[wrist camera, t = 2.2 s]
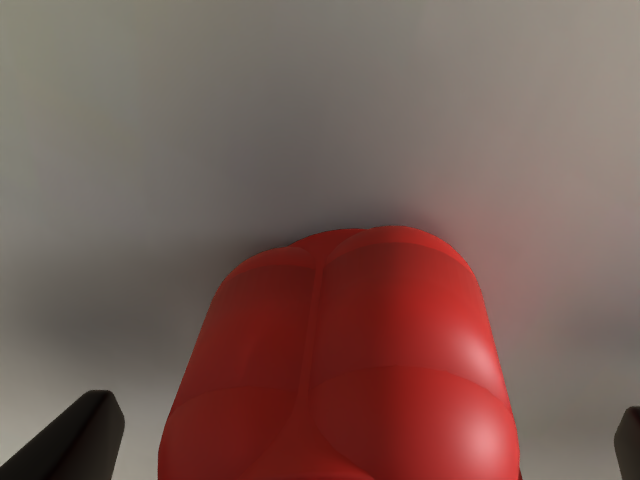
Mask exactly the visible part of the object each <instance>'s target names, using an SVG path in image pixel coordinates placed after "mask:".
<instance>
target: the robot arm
mask: <svg viewBox="0 0 640 480" xmlns="http://www.w3.org/2000/svg"><path fill="white" fill-rule="evenodd" d="M124 427H125V420H124V415H123V413H122V411H121V409H120V407H119V405H118V402H117V400H116V398H115V396H114V394H113V393H112V392H111V391H109V390H90V391H88V392H86V393H84V394H83V395H82V396H81V397H80V398H79V399H77V400H76V401H75V402H74V403H73V404H72V405H71V406H69V407H68V408H67V409H66V410H65V411H64V412H63V413H61V414H60V415H59V416H58V417H57V418H56V419H55V420H53V421H52V422H51V423H50V424H49V425H48V426H47V427H45V428H44V429H43V430H42V431H41V432H40V433H39V434H37V435H36V436H35V437H34V438H33V439H32V440H31V441H29V442H28V443H27V444H26V445H25V446H24V447H23V448H21V449H20V450H19V451H18V452H17V453H16V454H15V455H13V456H12V457H11V458H10V459H9V460H8V461H7V462H5V463H4V464H3V465H2V466H1V467H0V480H111V478H112V474H113V470H114V466H115V462H116V459H117V455H118V451H119V447H120V443H121V440H122V436H123V432H124ZM614 447H615V452H616V456H617V460H618V464H619V468H620V472H621V476H622V480H640V407H637V406H632V407H629V408H628V409H626V411H625V413H624V415H623V417H622V420H621V422H620V424H619V426H618V428H617V431H616V433H615V436H614Z"/></svg>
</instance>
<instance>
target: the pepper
mask: <svg viewBox="0 0 640 480" xmlns="http://www.w3.org/2000/svg"><path fill="white" fill-rule="evenodd" d="M519 458H520V450H519V443H518V436H517V429H516V425H515V421H514V417H513V413H512V409H511V405H510V402H509V398H508V394H507V390H506V386H505V382H504V378H503V374H502V370H501V366H500V363H499V359H498V355H497V351H496V347H495V343H494V339H493V335H492V331H491V327H490V324H489V320H488V316H487V312H486V308H485V304H484V300H483V296H482V293H481V289H480V287H479V285H478V282H477V280H476V277H475V275H474V273H473V272H472V270H471V269H470V267H469V266H468V264H467V262H466V261H465V260H464V259H463V258H462V257H461V256H460V254H459V253H457V252H456V251H455V250H454V249H453V248H452V247H451V246H450V245H449V244H447V243H446V242H444V241H443V240H441V239H439V238H438V237H436V236H434V235H432V234H430V233H427V232H425V231H422V230H419V229H416V228H411V227H406V226H391V225H389V226H381V227H374V228H371V229H338V230H332V231H325V232H322V233H318V234H314V235H311V236H308V237H306V238H303V239H301V240H298V241H296V242H295V243H293V244H291V245H289V246H287V247H281V248H273V249H270V250H267V251H263V252H261V253H259V254H257V255H254V256H253V257H251V258H249V259H247V260H245V261H243V262H242V263H241V264H240V265H238V266H237V267H236V268H235V269H234V270H233V271H232V272H231V273H230V274H229V275H228V276H227V277H226V278H225V279H224V281H223V282H222V283H221V285H220V286H219V288H218V290H217V291H216V293H215V295H214V297H213V299H212V302H211V304H210V306H209V309H208V312H207V314H206V317H205V320H204V322H203V325H202V328H201V330H200V333H199V336H198V338H197V341H196V344H195V346H194V349H193V352H192V354H191V357H190V360H189V362H188V365H187V368H186V370H185V373H184V376H183V378H182V381H181V384H180V386H179V389H178V392H177V394H176V397H175V400H174V402H173V405H172V408H171V410H170V413H169V416H168V418H167V421H166V424H165V427H164V431H163V434H162V438H161V442H160V446H159V450H158V480H523V479H522V475H521V471H520V467H519Z"/></svg>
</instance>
